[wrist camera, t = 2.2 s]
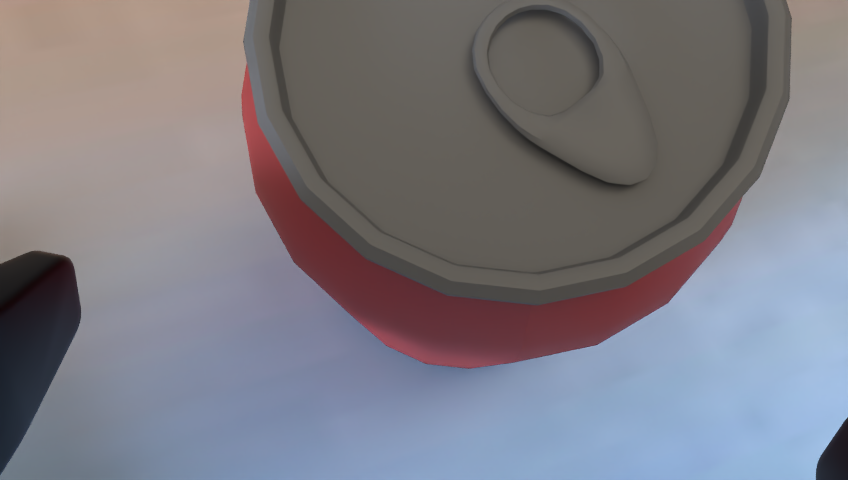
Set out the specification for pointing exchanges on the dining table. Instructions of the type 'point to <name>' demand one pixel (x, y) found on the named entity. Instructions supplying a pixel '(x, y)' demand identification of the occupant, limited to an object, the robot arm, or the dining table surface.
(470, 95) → the beer can
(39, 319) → the robot arm
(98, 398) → the dining table surface
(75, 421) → the dining table surface
